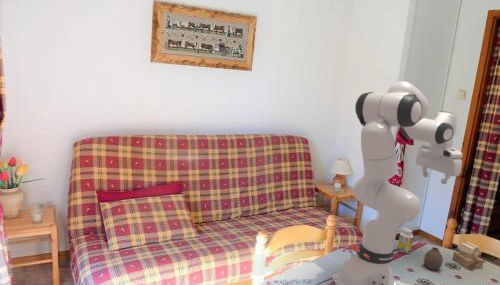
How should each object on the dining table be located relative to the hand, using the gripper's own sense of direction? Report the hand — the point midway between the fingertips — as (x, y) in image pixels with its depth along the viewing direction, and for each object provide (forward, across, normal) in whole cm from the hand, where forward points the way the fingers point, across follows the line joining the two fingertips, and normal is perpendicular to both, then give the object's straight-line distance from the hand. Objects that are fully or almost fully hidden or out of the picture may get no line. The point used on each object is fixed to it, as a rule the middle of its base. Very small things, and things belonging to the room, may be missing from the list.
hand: (434, 180), depth 163 cm
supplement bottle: (+34, -3, -7) cm, 35 cm away
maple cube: (+30, +14, +12) cm, 36 cm away
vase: (+34, +12, -7) cm, 37 cm away
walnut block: (+34, +14, +12) cm, 39 cm away
